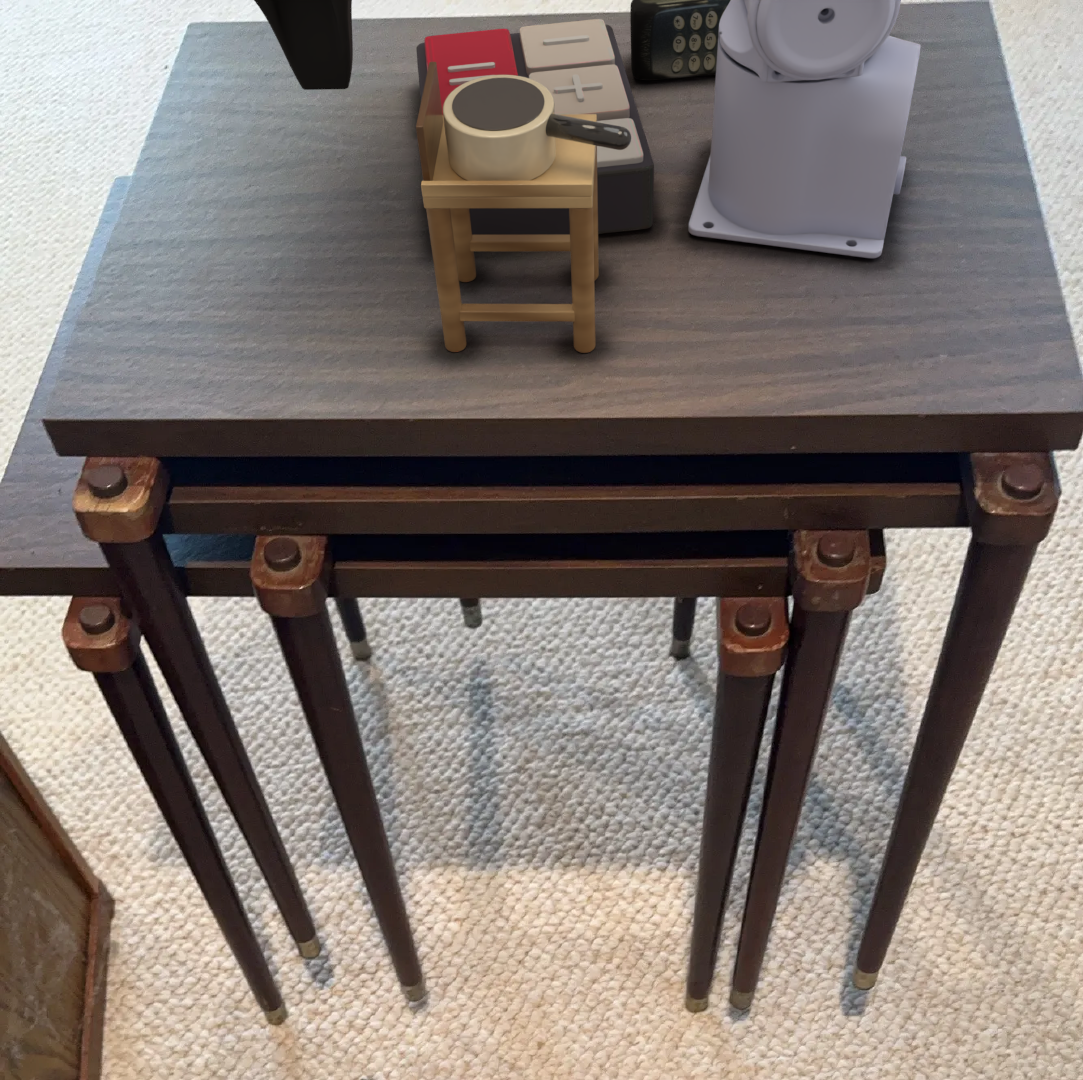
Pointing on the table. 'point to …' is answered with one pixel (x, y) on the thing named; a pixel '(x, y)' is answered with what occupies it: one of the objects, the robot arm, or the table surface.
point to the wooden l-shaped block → (446, 189)
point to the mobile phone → (674, 38)
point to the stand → (459, 244)
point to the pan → (513, 129)
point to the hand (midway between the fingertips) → (339, 37)
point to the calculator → (557, 112)
